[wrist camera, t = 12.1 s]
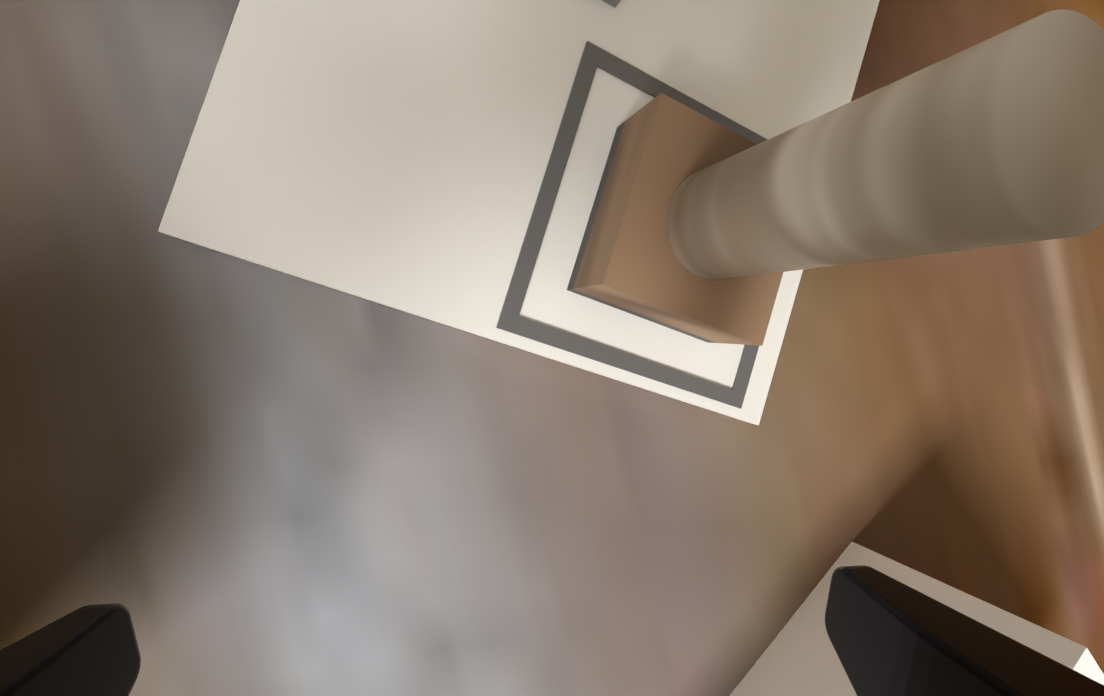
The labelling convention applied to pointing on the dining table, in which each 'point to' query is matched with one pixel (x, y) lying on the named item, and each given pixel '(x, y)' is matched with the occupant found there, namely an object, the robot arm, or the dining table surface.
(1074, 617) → the dining table surface
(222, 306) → the dining table surface
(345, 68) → the stamping board
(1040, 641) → the white box
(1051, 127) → the stamp
